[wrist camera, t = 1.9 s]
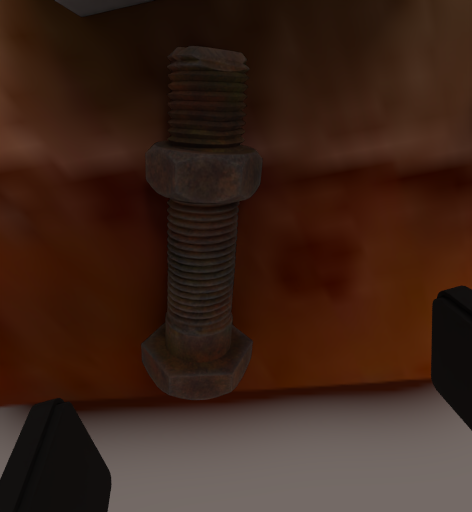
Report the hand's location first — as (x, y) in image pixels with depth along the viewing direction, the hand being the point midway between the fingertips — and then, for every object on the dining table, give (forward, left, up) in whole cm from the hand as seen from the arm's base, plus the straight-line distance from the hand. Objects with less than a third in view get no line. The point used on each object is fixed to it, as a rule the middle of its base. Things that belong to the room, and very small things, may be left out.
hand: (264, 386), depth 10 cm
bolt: (+1, -1, -12) cm, 12 cm away
